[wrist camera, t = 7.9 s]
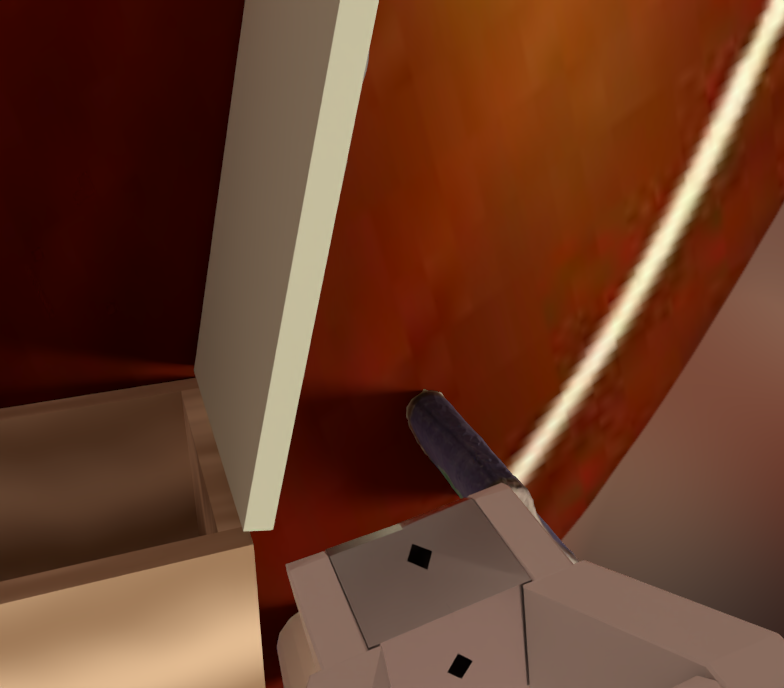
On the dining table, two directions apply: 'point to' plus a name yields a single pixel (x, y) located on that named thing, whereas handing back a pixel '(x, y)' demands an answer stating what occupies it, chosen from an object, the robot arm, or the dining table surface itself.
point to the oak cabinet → (123, 547)
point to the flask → (463, 453)
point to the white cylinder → (294, 654)
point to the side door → (275, 230)
